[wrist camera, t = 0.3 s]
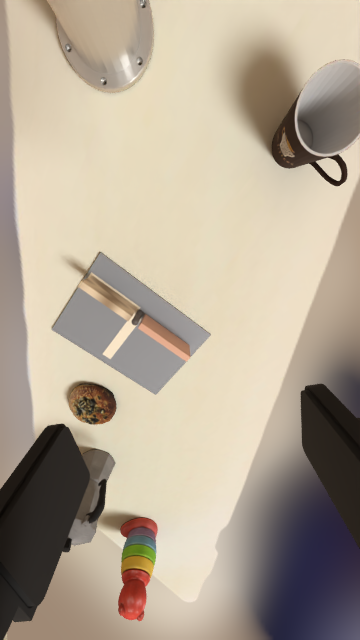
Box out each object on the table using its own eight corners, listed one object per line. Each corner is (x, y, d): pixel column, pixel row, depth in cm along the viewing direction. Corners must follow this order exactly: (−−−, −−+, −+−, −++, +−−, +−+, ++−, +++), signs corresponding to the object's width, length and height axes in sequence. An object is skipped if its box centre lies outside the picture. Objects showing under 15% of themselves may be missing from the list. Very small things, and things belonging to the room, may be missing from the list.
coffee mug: (264, 114, 33) (296, 67, 24) (323, 103, 33) (380, 52, 24) (264, 201, 38) (292, 190, 28) (317, 193, 37) (363, 179, 28)
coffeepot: (95, 482, 62) (64, 574, 45) (68, 464, 60) (23, 554, 43) (133, 454, 58) (114, 544, 42) (106, 434, 56) (73, 520, 39)
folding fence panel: (142, 318, 44) (137, 328, 40) (145, 314, 44) (141, 323, 40) (185, 349, 47) (186, 361, 42) (189, 345, 46) (190, 357, 42)
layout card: (52, 328, 46) (51, 329, 46) (100, 252, 41) (100, 252, 40) (155, 393, 52) (155, 394, 51) (210, 334, 46) (210, 334, 46)
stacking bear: (118, 528, 70) (98, 620, 53) (136, 511, 67) (121, 604, 50) (147, 540, 72) (137, 633, 55) (166, 525, 69) (161, 617, 52)
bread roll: (127, 401, 52) (119, 419, 48) (101, 422, 57) (91, 440, 52) (89, 372, 50) (77, 387, 46) (64, 396, 54) (51, 412, 50)
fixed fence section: (89, 280, 42) (77, 286, 37) (92, 275, 42) (81, 280, 37) (140, 316, 45) (135, 326, 40) (144, 312, 44) (139, 321, 40)
